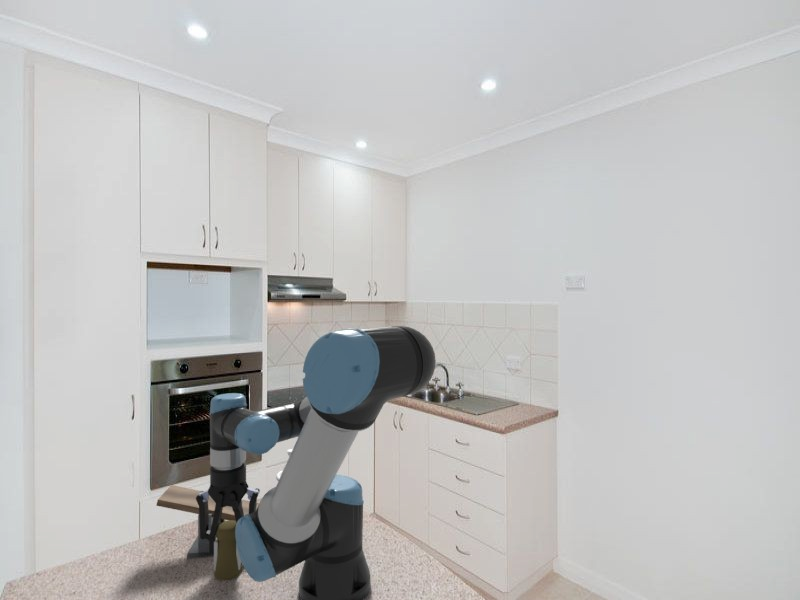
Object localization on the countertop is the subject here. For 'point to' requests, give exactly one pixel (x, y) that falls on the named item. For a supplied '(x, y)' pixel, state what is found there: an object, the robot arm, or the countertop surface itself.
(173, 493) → the seesaw plank
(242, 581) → the countertop surface
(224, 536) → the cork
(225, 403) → the robot arm
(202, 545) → the seesaw stand
